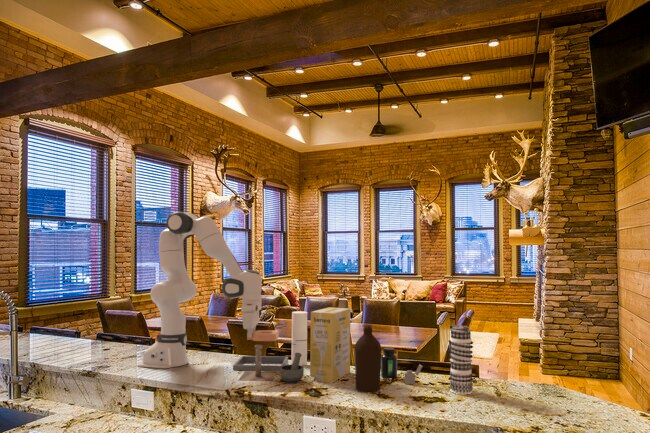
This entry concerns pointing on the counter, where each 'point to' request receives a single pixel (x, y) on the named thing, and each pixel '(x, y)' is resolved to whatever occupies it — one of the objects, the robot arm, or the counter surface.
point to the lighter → (412, 375)
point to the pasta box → (330, 344)
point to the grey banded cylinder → (460, 360)
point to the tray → (264, 360)
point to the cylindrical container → (299, 336)
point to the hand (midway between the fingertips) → (251, 336)
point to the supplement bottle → (388, 363)
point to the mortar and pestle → (292, 371)
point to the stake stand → (257, 370)
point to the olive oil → (367, 361)
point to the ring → (264, 335)
